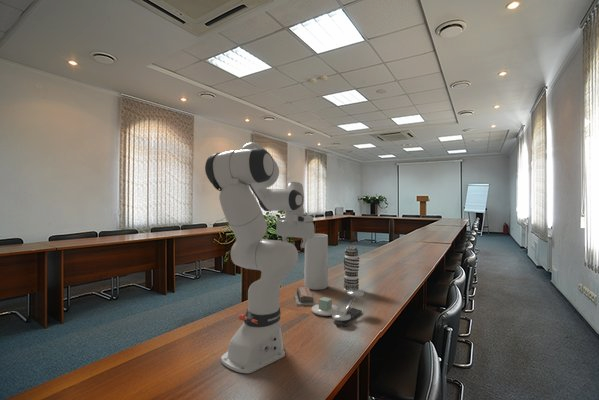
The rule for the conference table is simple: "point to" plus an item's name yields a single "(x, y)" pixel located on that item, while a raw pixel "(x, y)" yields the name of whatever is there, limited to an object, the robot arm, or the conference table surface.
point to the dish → (324, 313)
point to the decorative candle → (351, 268)
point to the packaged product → (304, 297)
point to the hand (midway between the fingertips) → (294, 246)
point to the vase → (316, 262)
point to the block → (325, 304)
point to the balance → (348, 310)
